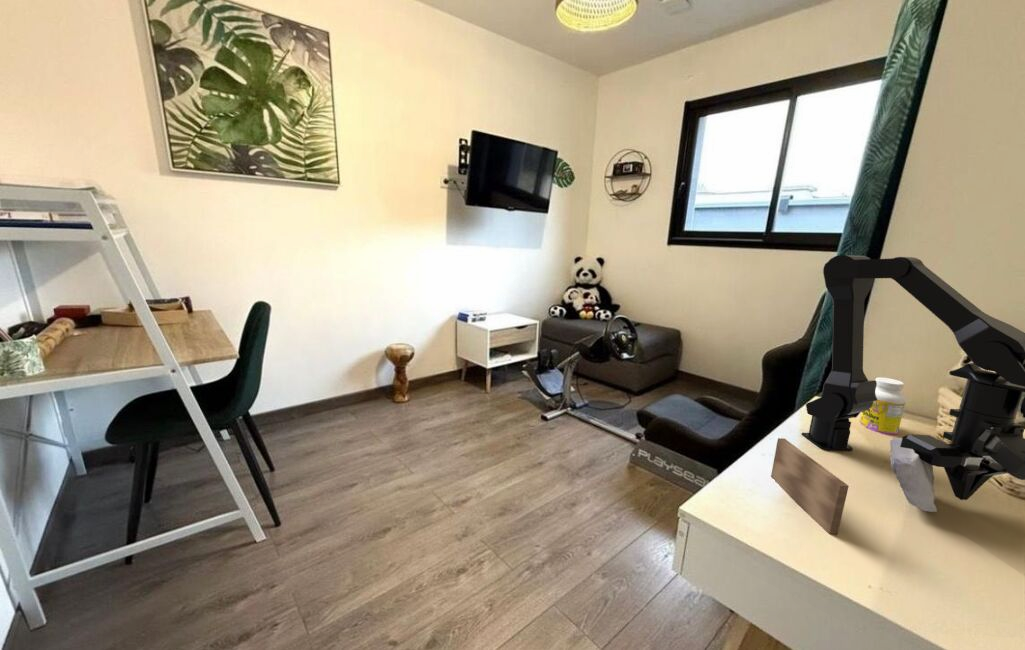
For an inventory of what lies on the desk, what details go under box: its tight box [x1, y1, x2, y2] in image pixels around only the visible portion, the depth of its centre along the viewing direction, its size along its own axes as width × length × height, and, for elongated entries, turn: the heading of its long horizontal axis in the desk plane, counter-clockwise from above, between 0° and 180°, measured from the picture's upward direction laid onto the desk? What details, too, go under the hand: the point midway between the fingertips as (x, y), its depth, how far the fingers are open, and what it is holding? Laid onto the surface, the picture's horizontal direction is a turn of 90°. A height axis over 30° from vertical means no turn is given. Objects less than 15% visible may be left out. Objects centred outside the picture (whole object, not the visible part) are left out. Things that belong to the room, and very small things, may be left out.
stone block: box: [889, 437, 938, 512], centre depth 65 cm, size 12×5×10 cm, turn 135°
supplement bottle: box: [859, 377, 907, 436], centre depth 90 cm, size 7×7×13 cm
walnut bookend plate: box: [770, 437, 849, 535], centre depth 64 cm, size 14×1×8 cm, turn 179°
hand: (960, 498), depth 65 cm, fingers closed
